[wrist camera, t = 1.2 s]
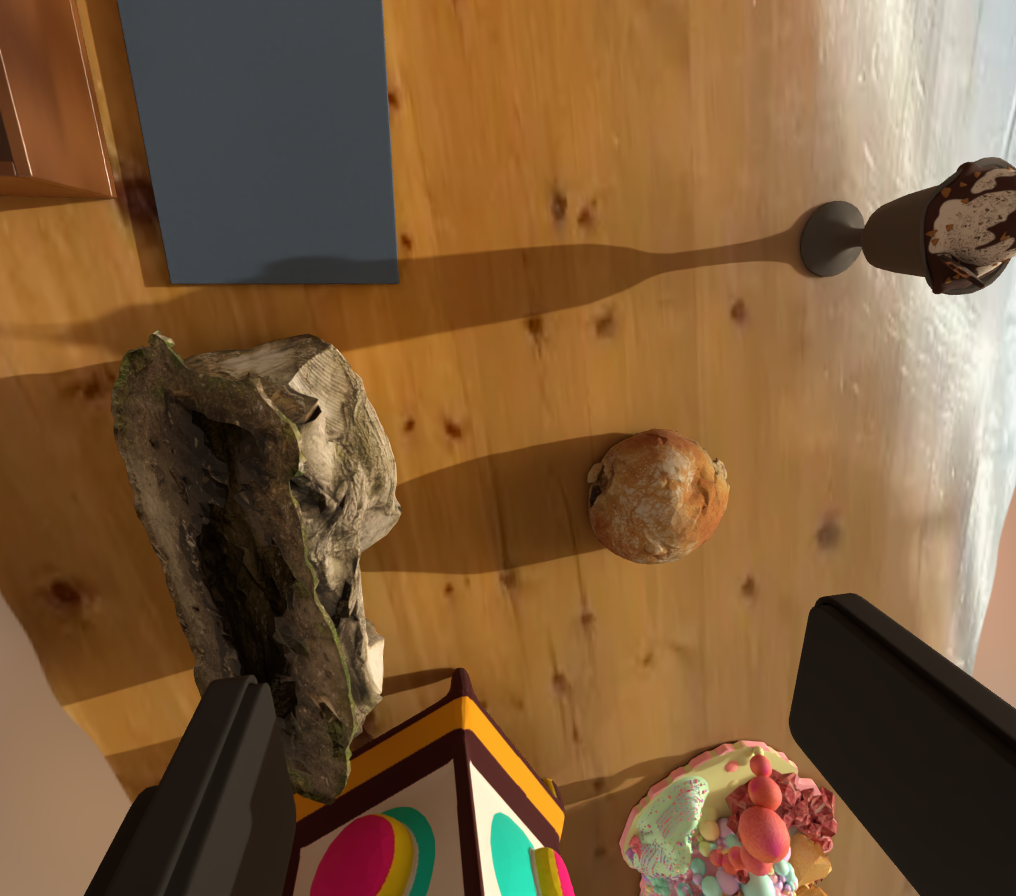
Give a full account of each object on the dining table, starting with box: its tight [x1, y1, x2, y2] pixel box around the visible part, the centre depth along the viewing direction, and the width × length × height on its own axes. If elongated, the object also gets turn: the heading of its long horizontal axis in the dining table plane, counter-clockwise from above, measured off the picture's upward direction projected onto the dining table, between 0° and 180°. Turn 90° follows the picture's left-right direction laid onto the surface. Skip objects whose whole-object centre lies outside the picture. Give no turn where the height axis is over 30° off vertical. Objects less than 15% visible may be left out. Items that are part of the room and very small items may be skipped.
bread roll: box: [587, 429, 730, 564], centre depth 38 cm, size 10×10×8 cm
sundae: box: [801, 157, 1016, 295], centre depth 30 cm, size 7×7×15 cm
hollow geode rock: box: [111, 330, 402, 805], centre depth 32 cm, size 28×13×15 cm
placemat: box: [117, 0, 399, 284], centre depth 28 cm, size 20×13×1 cm, turn 179°
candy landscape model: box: [619, 740, 837, 896], centre depth 51 cm, size 25×24×9 cm
